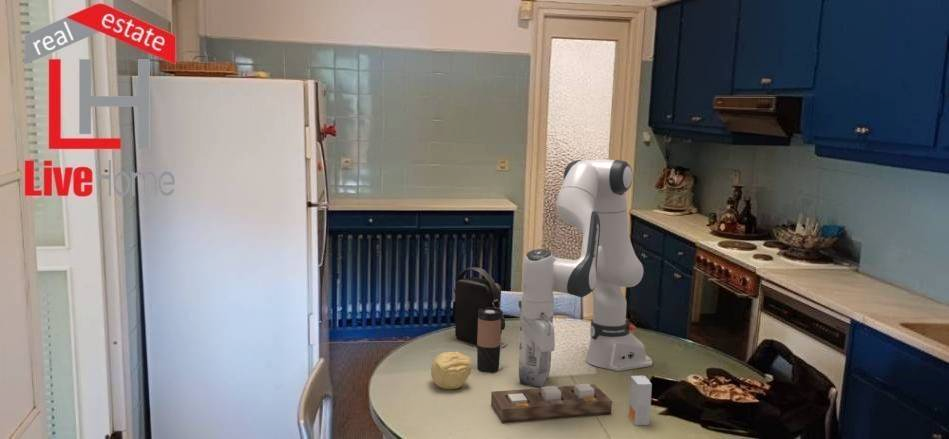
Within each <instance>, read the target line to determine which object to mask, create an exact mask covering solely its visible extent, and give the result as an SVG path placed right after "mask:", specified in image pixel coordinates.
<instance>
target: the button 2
mask: <svg viewBox="0 0 949 439" xmlns="http://www.w3.org/2000/svg"><path fill="white" fill-rule="evenodd" d="M590 385H591V384H589V383H581V384H574V385H573V386H574V395H575V396H576V397H577V398H578V399H582V398H592V397H594V389H593V388H592V387H591V386H590Z"/></svg>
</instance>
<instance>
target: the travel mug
mask: <svg viewBox="0 0 949 439" xmlns="http://www.w3.org/2000/svg"><path fill="white" fill-rule="evenodd" d="M501 311H502V310H501V308H500V309H498V308H494V307H487V308H486V309H481V308H480V309H479V310H478V335H477V347H476V353H477V354H476V358H477V359H476V361H477V362H476V364H477V365H476V366H477V367H476V369H477V371H479V372H481V373H485V374H486V373H487V374H492V373H497V372H498V371H499V370H500V361H501V360H500V358H501V357H500V356H501V348H500V344H501V343H502V342H501V340H502V339H501V337H502V336H501V335H502V334H501Z"/></svg>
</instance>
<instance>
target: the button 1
mask: <svg viewBox="0 0 949 439" xmlns="http://www.w3.org/2000/svg"><path fill="white" fill-rule="evenodd" d="M508 401H509V403H510V404H516V403H527V399H526V397H525V396H524V394H523V393H521V394H508Z"/></svg>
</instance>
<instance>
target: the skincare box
mask: <svg viewBox="0 0 949 439" xmlns="http://www.w3.org/2000/svg"><path fill="white" fill-rule="evenodd" d="M629 387H630V390H629V402H628V417H629V418H630V419H631V421H632V422H633V425H635V426H649V425H650V421H651V420H650V419H651V404H652V390H653V388H652V387H653V384H652V383H651V381H650V380H649V378H647V376H646V375H631V376H630V386H629Z"/></svg>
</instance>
